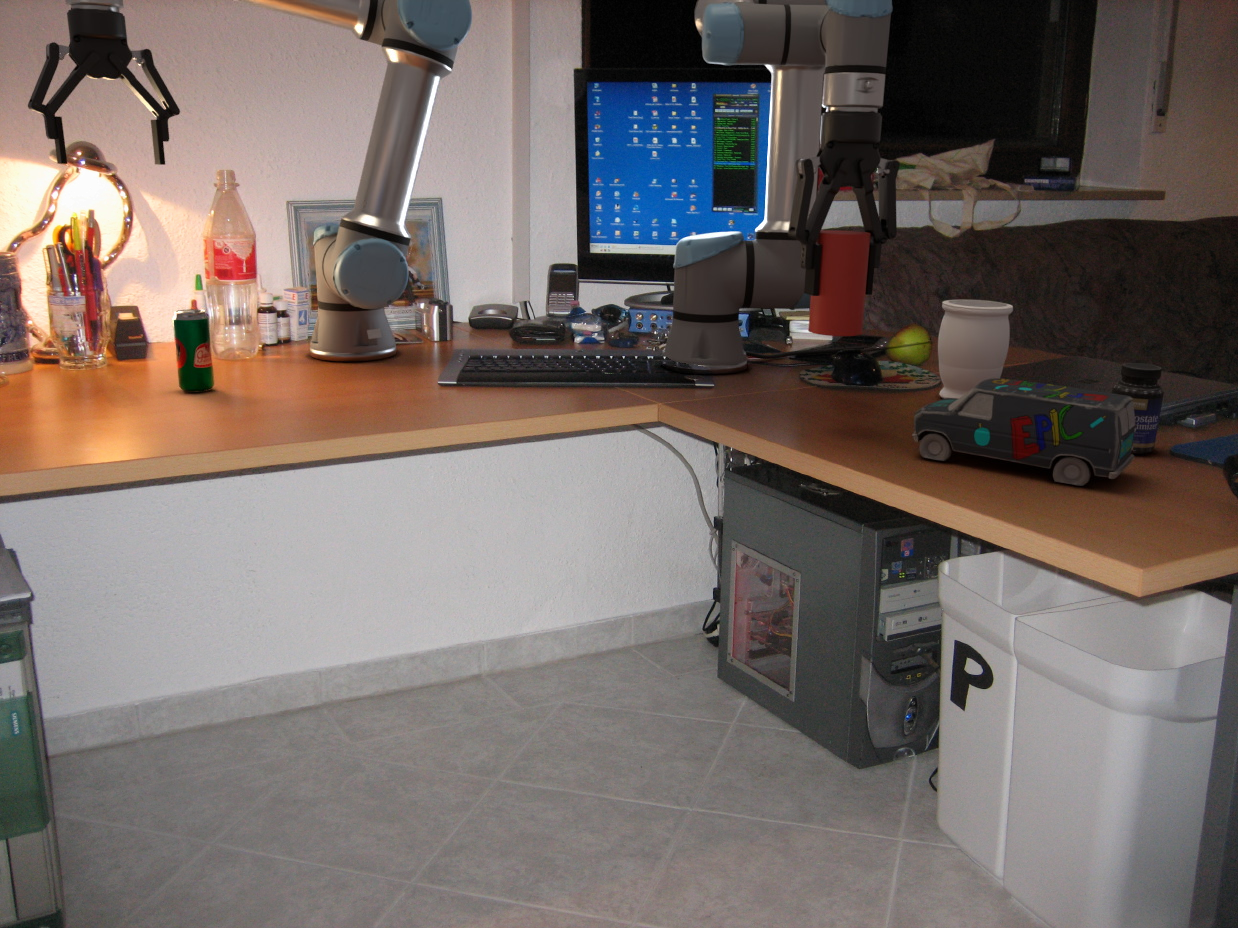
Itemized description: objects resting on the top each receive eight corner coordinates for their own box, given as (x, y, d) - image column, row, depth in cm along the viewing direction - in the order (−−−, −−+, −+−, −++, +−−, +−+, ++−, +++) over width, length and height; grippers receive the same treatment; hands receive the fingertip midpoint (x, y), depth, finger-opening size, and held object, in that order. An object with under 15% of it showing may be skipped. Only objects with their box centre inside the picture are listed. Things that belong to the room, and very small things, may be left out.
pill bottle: (1117, 454, 138) (1130, 370, 135) (1094, 442, 144) (1106, 361, 140) (1163, 454, 138) (1177, 370, 135) (1139, 442, 144) (1152, 361, 141)
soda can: (202, 393, 161) (195, 314, 158) (172, 391, 162) (164, 312, 159) (221, 386, 166) (214, 309, 163) (191, 384, 167) (184, 308, 163)
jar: (918, 393, 171) (927, 299, 167) (969, 389, 175) (980, 297, 170) (963, 408, 161) (974, 309, 157) (1016, 403, 165) (1028, 306, 161)
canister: (864, 337, 138) (872, 235, 135) (809, 335, 139) (816, 233, 136) (860, 328, 145) (868, 231, 141) (807, 326, 146) (814, 229, 142)
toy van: (935, 438, 144) (942, 365, 141) (1133, 472, 130) (1146, 392, 127) (905, 455, 135) (913, 378, 133) (1114, 493, 122) (1127, 408, 119)
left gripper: (1, -1, 143) (23, 164, 148) (193, 16, 157) (206, 165, 163) (-9, 4, 148) (13, 163, 154) (177, 20, 163) (190, 164, 169)
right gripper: (792, 107, 128) (780, 299, 135) (938, 112, 134) (920, 296, 140) (766, 109, 135) (756, 291, 142) (906, 114, 141) (890, 289, 147)
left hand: (112, 164), depth 159 cm, fingers open, 13 cm apart
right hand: (838, 293), depth 141 cm, fingers closed on canister, 7 cm apart
